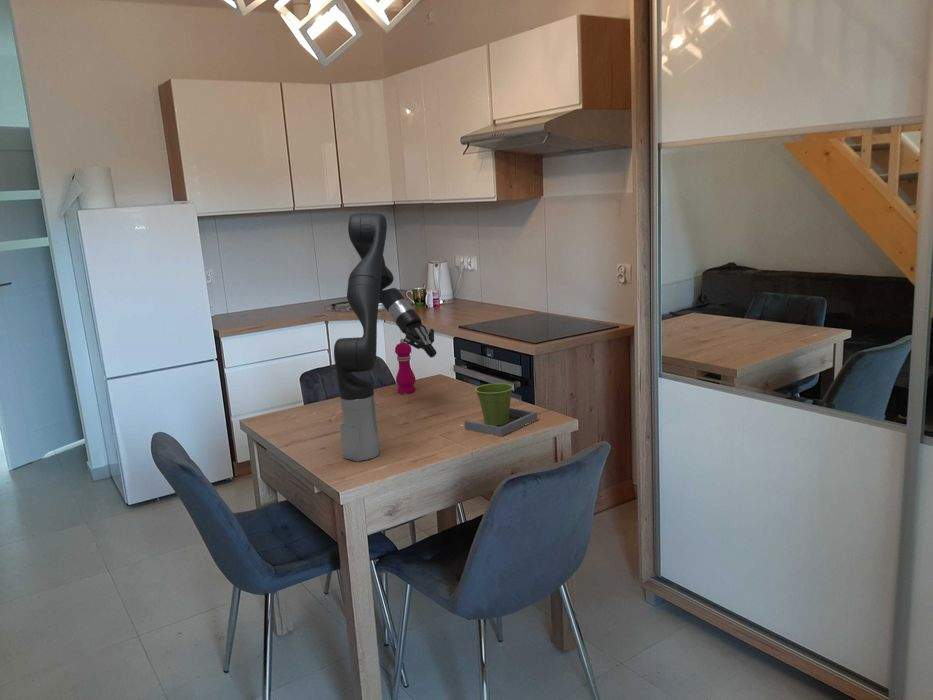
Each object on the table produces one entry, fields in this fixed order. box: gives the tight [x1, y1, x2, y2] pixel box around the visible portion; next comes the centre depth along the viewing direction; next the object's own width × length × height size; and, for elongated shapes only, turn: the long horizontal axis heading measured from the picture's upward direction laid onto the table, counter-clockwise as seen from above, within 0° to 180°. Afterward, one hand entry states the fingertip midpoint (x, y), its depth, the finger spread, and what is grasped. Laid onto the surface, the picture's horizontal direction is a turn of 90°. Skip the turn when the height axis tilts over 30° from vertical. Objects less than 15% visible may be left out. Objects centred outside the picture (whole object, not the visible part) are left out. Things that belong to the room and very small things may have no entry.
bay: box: [463, 407, 538, 437], centre depth 218 cm, size 18×14×2 cm
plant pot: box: [474, 382, 515, 426], centre depth 219 cm, size 12×12×11 cm
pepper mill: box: [394, 338, 417, 394], centre depth 262 cm, size 7×7×20 cm
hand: (433, 355), depth 231 cm, fingers closed
